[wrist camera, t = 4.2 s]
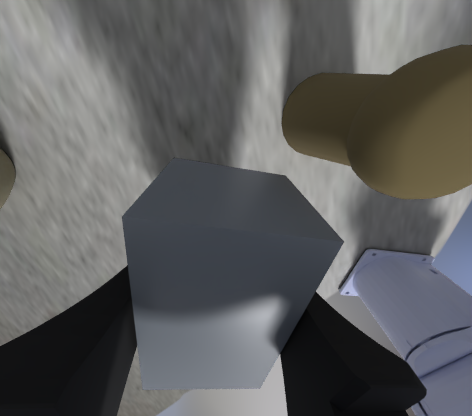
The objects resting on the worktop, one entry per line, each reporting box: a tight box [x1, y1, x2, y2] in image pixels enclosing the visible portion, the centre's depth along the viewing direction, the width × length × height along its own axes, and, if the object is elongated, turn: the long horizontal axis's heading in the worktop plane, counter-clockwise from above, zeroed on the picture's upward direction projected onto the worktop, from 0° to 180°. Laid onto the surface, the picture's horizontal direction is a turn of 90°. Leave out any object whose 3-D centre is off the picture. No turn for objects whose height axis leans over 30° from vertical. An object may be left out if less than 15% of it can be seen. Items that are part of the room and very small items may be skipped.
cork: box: [282, 45, 472, 199], centre depth 11 cm, size 6×6×11 cm
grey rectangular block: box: [122, 158, 344, 390], centre depth 10 cm, size 6×11×6 cm, turn 170°
